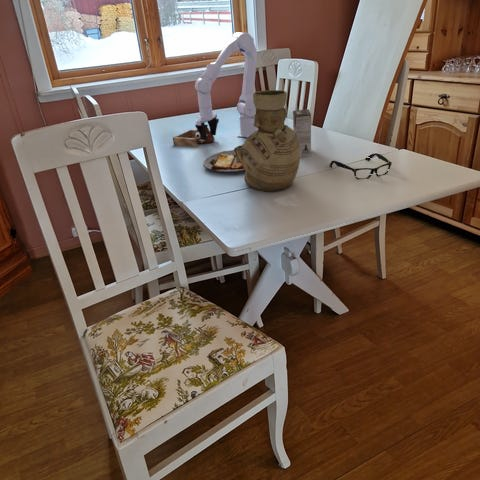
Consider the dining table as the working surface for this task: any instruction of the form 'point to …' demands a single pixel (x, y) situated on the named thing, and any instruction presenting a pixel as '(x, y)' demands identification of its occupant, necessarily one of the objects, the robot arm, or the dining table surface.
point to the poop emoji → (199, 140)
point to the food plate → (223, 162)
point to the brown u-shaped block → (185, 139)
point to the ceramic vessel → (270, 145)
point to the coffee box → (303, 130)
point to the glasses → (365, 168)
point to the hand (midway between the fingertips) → (209, 137)
